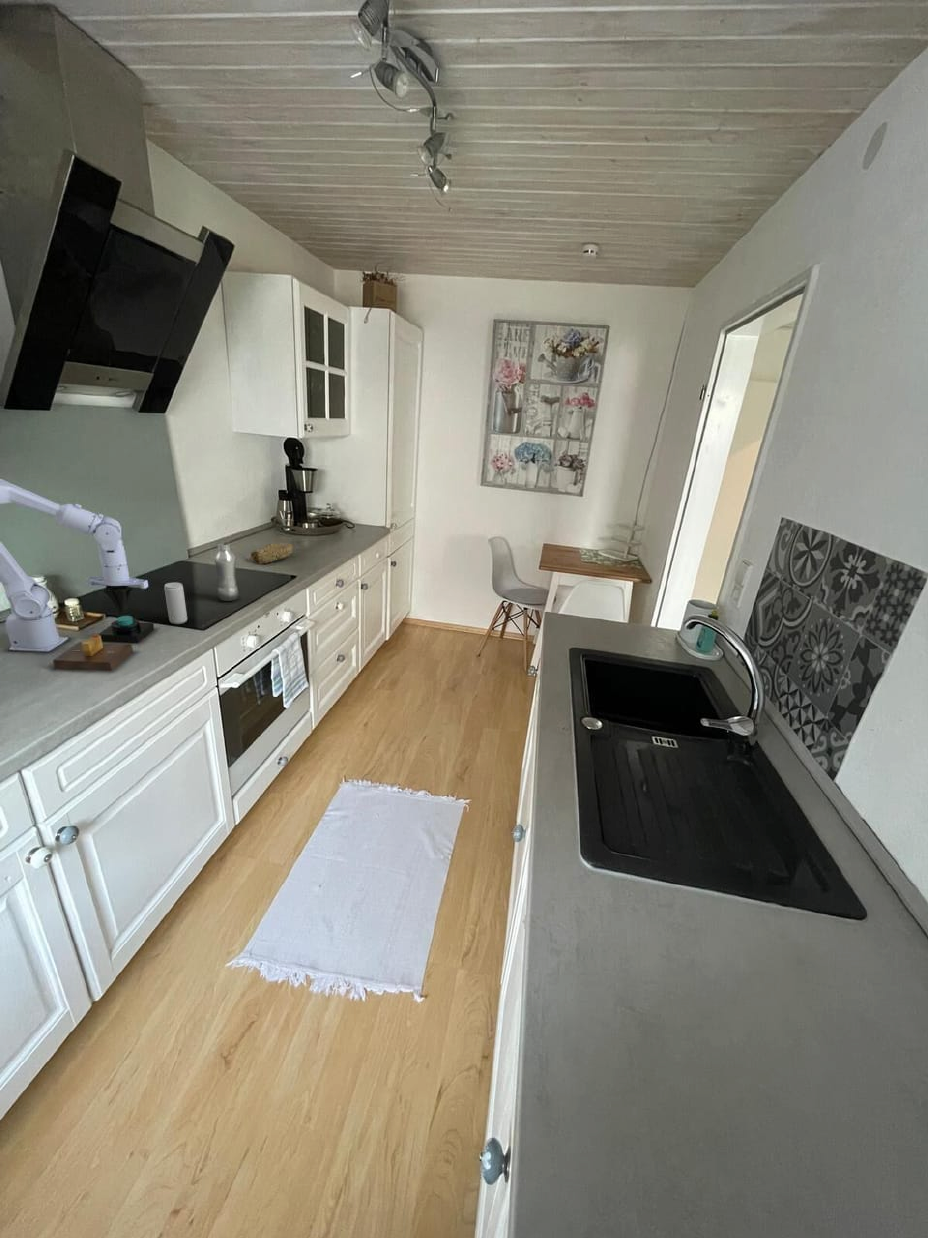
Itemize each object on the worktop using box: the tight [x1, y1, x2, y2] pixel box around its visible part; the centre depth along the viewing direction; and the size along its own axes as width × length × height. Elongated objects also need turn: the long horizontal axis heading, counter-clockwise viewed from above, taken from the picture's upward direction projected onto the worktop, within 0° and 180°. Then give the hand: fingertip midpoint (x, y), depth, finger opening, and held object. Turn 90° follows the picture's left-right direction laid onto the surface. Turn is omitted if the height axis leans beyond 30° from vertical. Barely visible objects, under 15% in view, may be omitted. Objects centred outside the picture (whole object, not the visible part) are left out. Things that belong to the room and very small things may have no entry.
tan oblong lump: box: [250, 542, 294, 565], centre depth 213 cm, size 13×8×20 cm
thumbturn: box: [82, 634, 103, 656], centre depth 123 cm, size 5×2×4 cm, turn 5°
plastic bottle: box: [214, 541, 240, 602], centre depth 165 cm, size 6×7×20 cm
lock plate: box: [52, 641, 134, 672], centre depth 124 cm, size 13×10×3 cm
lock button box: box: [97, 617, 155, 644], centre depth 138 cm, size 10×9×4 cm
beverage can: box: [164, 582, 188, 625], centre depth 147 cm, size 5×5×12 cm
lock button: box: [116, 615, 133, 626], centre depth 137 cm, size 4×4×2 cm
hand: (123, 610), depth 135 cm, fingers closed
